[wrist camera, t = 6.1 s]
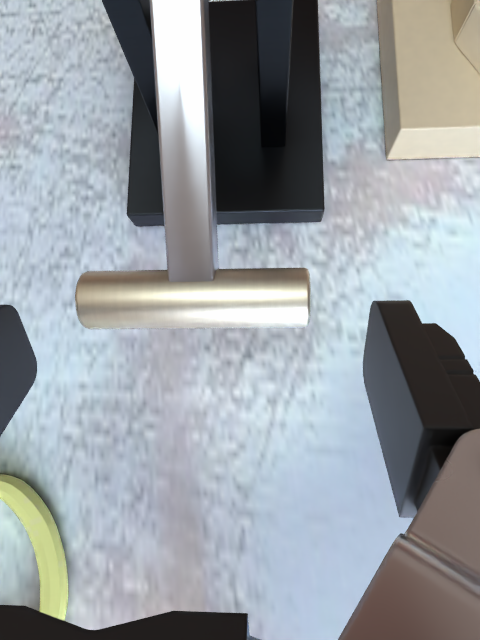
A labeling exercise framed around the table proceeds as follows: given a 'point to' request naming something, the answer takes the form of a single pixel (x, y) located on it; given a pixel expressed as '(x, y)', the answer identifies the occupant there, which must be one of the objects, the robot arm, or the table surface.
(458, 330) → the table surface
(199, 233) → the lever
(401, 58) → the button box
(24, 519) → the key
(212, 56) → the bracket
